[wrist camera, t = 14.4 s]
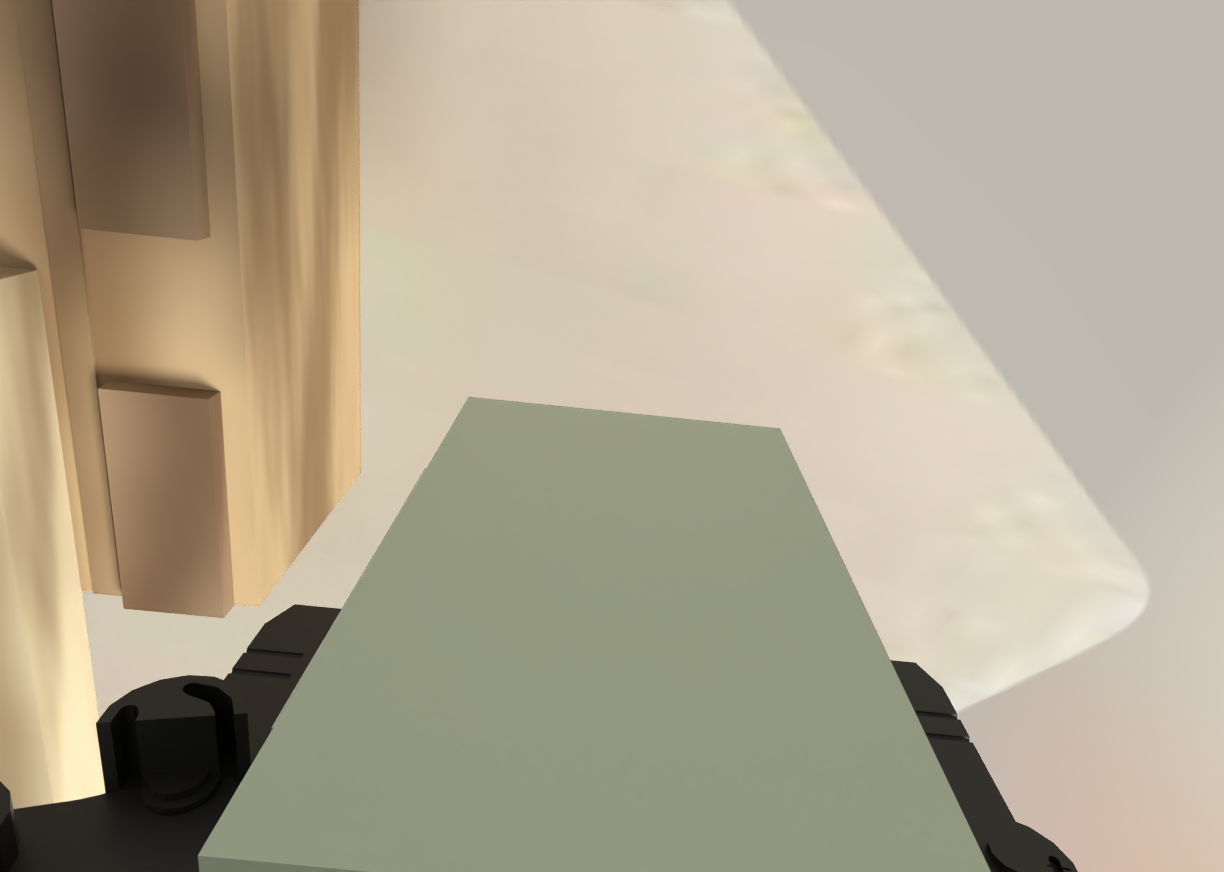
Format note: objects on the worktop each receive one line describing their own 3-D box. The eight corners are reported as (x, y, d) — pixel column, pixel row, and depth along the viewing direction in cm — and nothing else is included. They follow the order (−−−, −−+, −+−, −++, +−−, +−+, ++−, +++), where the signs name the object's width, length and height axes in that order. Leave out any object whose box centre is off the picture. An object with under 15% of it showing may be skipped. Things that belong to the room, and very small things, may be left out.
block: (457, 660, 15) (241, 1325, 7) (468, 397, 14) (198, 854, 5) (733, 686, 15) (856, 1379, 7) (779, 428, 14) (1019, 931, 5)
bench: (83, 445, 34) (-147, 583, 24) (8, -144, 27) (-362, -301, 17) (360, 472, 34) (248, 620, 24) (357, -105, 27) (197, -238, 17)
